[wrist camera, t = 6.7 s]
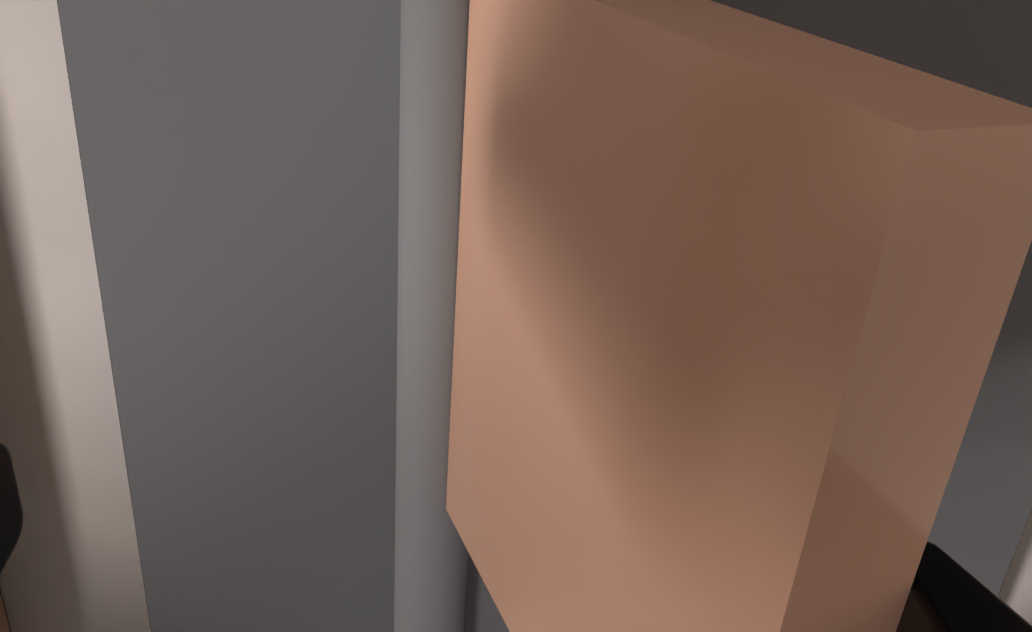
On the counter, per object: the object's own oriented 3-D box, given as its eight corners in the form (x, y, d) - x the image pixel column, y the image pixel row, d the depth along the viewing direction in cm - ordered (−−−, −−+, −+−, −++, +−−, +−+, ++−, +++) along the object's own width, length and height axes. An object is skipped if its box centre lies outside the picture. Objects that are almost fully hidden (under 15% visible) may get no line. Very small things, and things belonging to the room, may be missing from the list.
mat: (930, 709, 17) (951, 768, 16) (166, 620, 18) (138, 670, 17) (1350, -385, 10) (1442, -411, 9) (16, -468, 10) (-52, -502, 9)
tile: (519, 494, 15) (792, 927, 9) (446, 509, 14) (686, 972, 9) (567, -48, 11) (1072, 123, 6) (471, -50, 11) (914, 132, 5)
